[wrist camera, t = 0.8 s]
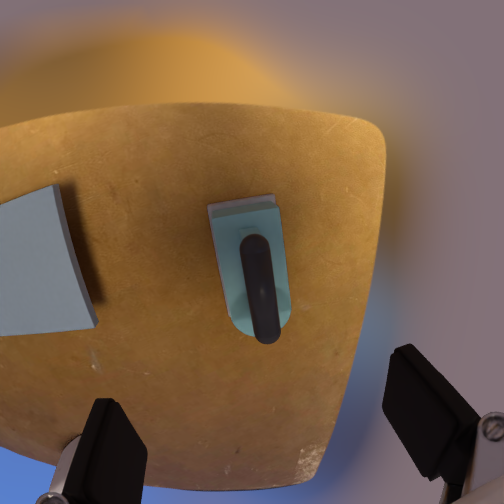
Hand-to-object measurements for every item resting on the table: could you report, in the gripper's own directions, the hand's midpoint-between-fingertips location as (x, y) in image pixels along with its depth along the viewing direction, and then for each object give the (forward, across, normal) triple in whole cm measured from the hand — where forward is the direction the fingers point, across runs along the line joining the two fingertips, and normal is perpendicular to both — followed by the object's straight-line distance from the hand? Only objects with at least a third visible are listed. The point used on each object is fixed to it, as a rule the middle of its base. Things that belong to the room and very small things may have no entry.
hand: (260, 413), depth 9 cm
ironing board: (+20, +28, -2) cm, 34 cm away
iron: (+20, -2, +1) cm, 20 cm away
